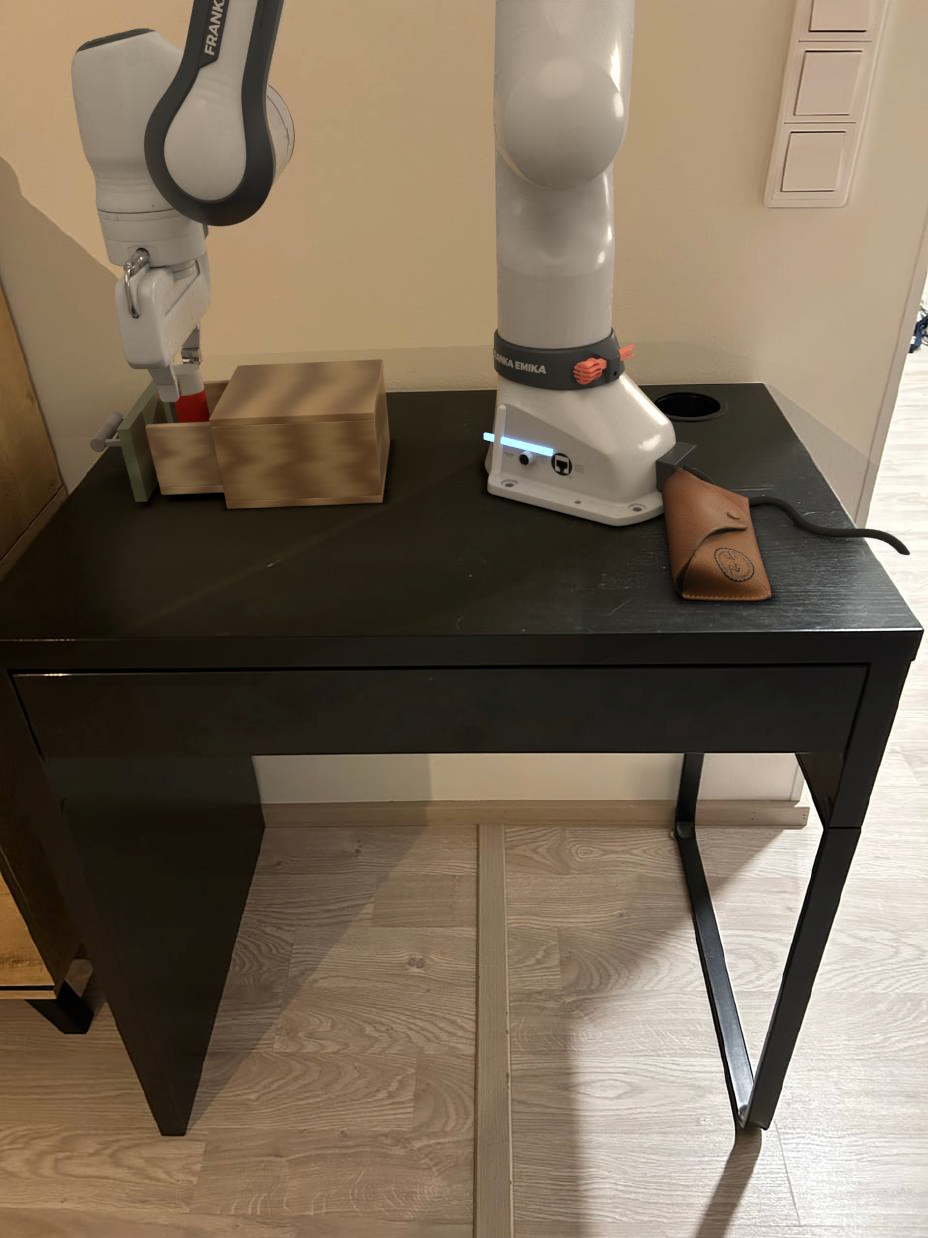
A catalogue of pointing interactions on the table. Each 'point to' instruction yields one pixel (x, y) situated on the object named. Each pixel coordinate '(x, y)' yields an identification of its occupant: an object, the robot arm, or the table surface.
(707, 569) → the sunglasses case
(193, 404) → the glue stick
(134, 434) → the drawer
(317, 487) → the cabinet
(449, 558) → the table surface
